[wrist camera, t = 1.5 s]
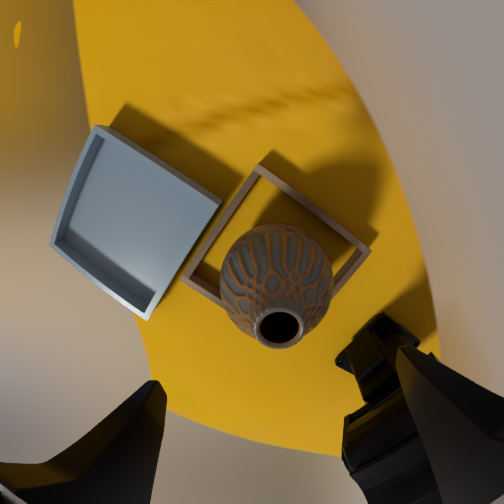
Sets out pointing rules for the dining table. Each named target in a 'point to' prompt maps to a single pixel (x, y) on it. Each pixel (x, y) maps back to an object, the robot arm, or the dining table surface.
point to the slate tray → (129, 219)
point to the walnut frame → (361, 250)
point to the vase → (276, 284)
